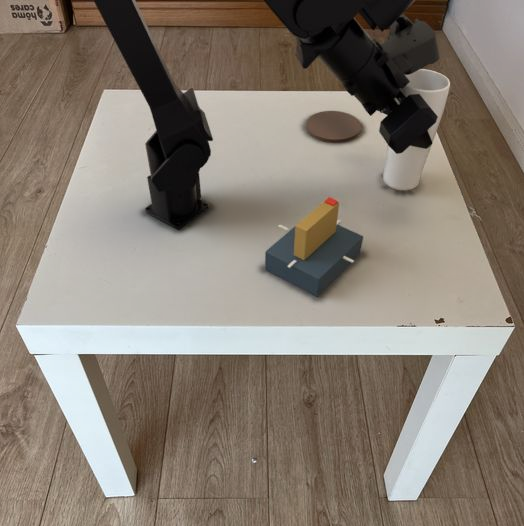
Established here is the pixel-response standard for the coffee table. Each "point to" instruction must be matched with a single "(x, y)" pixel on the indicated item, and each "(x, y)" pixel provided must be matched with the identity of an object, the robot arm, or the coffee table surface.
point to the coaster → (333, 126)
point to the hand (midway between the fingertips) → (419, 132)
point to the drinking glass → (413, 158)
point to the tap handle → (316, 228)
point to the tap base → (313, 259)
